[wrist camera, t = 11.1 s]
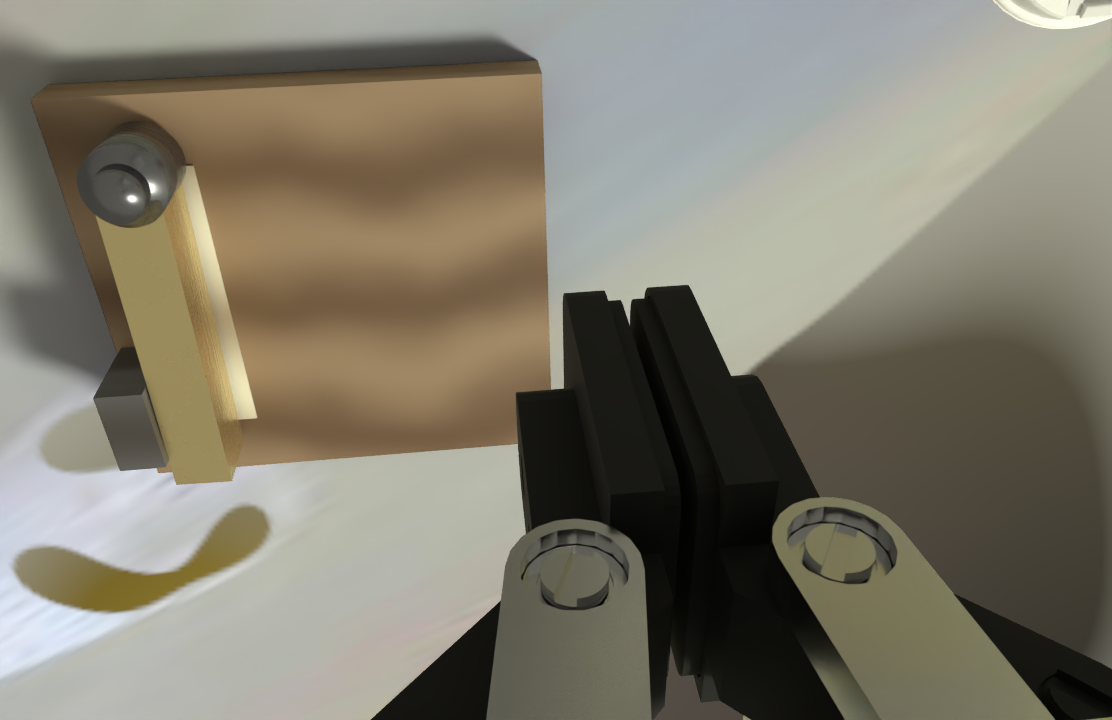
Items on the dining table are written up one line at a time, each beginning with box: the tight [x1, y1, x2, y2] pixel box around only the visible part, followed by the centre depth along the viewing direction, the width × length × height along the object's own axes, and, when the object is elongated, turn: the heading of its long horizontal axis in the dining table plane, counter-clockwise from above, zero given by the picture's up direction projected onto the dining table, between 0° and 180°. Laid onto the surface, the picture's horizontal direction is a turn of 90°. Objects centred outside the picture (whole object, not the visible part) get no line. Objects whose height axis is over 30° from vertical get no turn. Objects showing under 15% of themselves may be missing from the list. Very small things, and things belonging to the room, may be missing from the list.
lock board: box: [30, 60, 551, 473], centre depth 40 cm, size 19×20×6 cm
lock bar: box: [77, 121, 244, 485], centre depth 38 cm, size 16×3×4 cm, turn 0°
